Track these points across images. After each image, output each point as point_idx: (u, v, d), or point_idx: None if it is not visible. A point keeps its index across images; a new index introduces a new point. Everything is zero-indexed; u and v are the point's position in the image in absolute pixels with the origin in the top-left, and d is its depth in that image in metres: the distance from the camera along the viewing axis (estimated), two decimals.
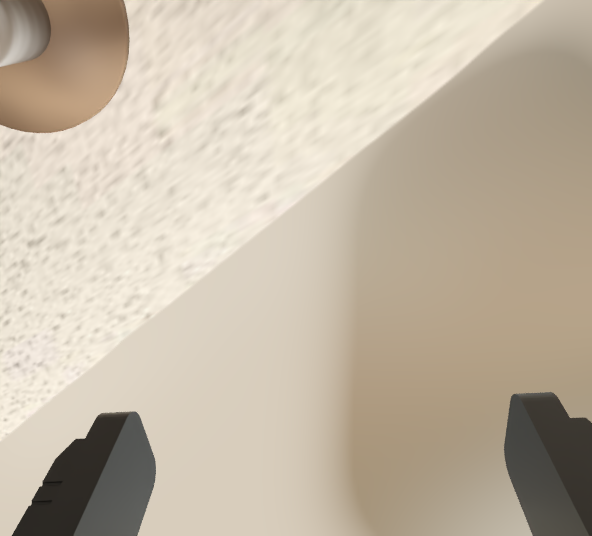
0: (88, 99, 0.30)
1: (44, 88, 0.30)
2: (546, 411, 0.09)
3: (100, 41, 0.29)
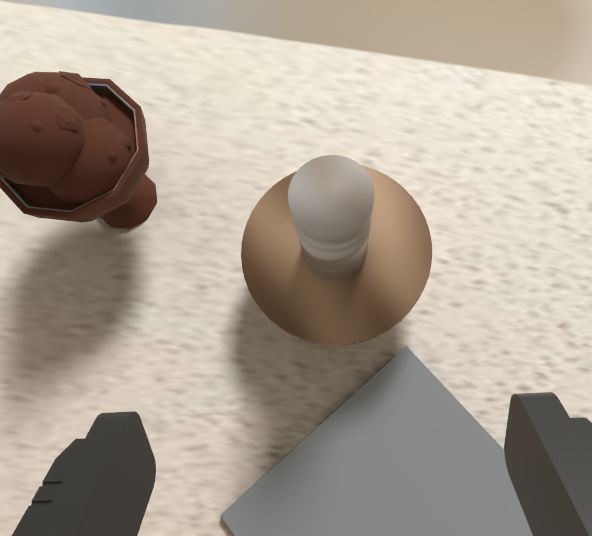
0: None
1: None
2: (546, 411, 0.09)
3: None
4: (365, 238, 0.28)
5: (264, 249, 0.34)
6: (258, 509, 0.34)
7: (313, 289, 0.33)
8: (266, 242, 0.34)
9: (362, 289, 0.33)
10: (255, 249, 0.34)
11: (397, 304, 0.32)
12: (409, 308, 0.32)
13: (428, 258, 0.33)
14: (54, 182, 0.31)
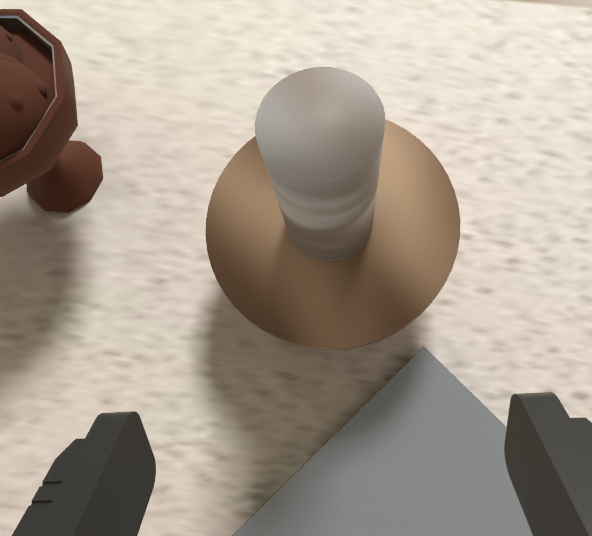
0: None
1: None
2: (546, 411, 0.09)
3: None
4: (372, 194, 0.19)
5: (236, 226, 0.26)
6: None
7: (303, 275, 0.24)
8: (238, 217, 0.26)
9: (369, 272, 0.24)
10: (223, 226, 0.26)
11: (417, 290, 0.24)
12: (434, 295, 0.24)
13: (455, 227, 0.24)
14: None
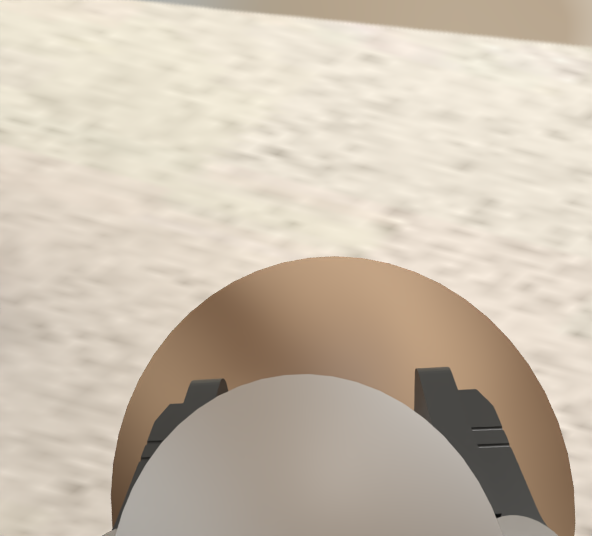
0: (371, 286, 0.15)
1: (411, 366, 0.15)
2: (438, 382, 0.10)
3: (260, 315, 0.15)
4: None
5: None
6: None
7: None
8: None
9: None
10: None
11: None
12: None
13: (566, 501, 0.13)
14: None
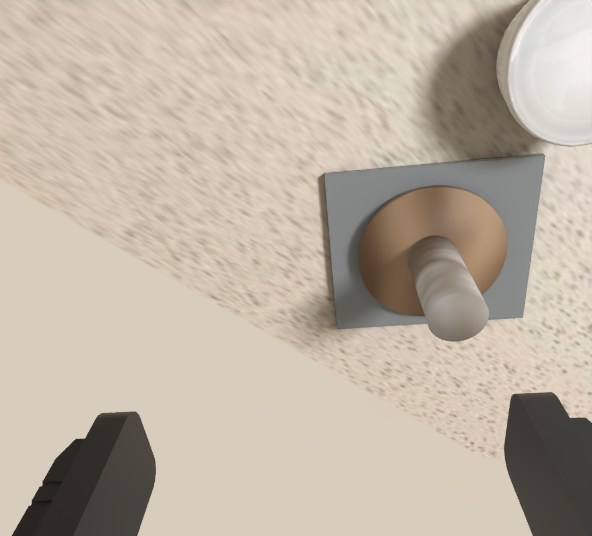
0: (485, 215, 0.41)
1: (475, 243, 0.43)
2: (546, 411, 0.09)
3: (445, 204, 0.41)
4: None
5: (386, 234, 0.43)
6: (353, 189, 0.42)
7: (400, 274, 0.45)
8: (390, 230, 0.42)
9: None
10: (379, 230, 0.42)
11: None
12: None
13: (482, 291, 0.45)
14: None
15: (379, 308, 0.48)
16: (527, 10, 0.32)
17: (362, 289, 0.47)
